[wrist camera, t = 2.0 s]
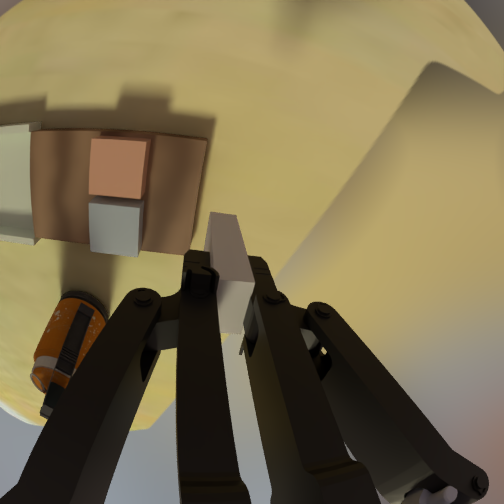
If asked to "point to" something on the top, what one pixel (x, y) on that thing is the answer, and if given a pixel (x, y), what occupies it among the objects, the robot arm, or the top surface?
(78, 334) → the canister
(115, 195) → the tile
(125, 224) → the tile
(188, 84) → the top surface
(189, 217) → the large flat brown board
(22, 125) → the tray
